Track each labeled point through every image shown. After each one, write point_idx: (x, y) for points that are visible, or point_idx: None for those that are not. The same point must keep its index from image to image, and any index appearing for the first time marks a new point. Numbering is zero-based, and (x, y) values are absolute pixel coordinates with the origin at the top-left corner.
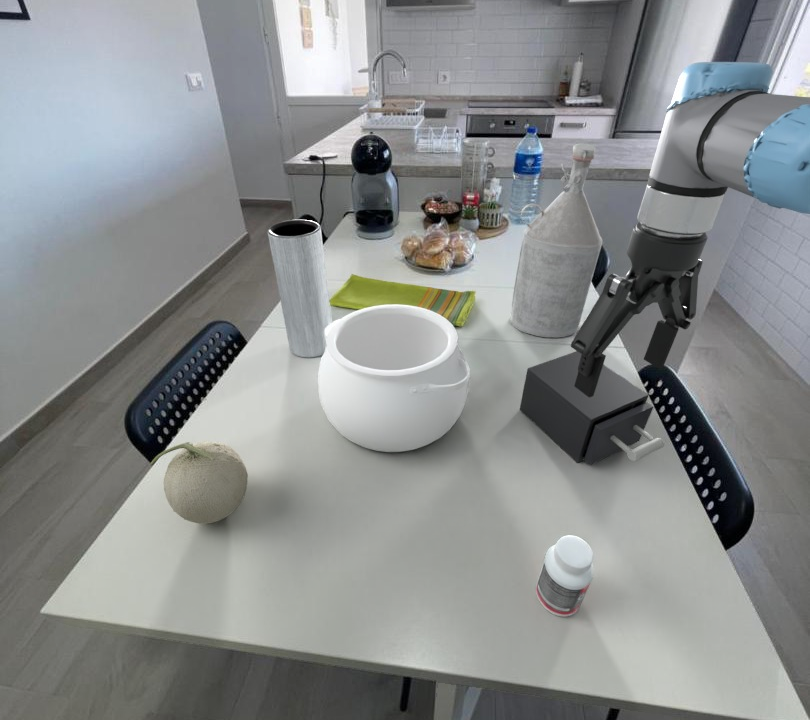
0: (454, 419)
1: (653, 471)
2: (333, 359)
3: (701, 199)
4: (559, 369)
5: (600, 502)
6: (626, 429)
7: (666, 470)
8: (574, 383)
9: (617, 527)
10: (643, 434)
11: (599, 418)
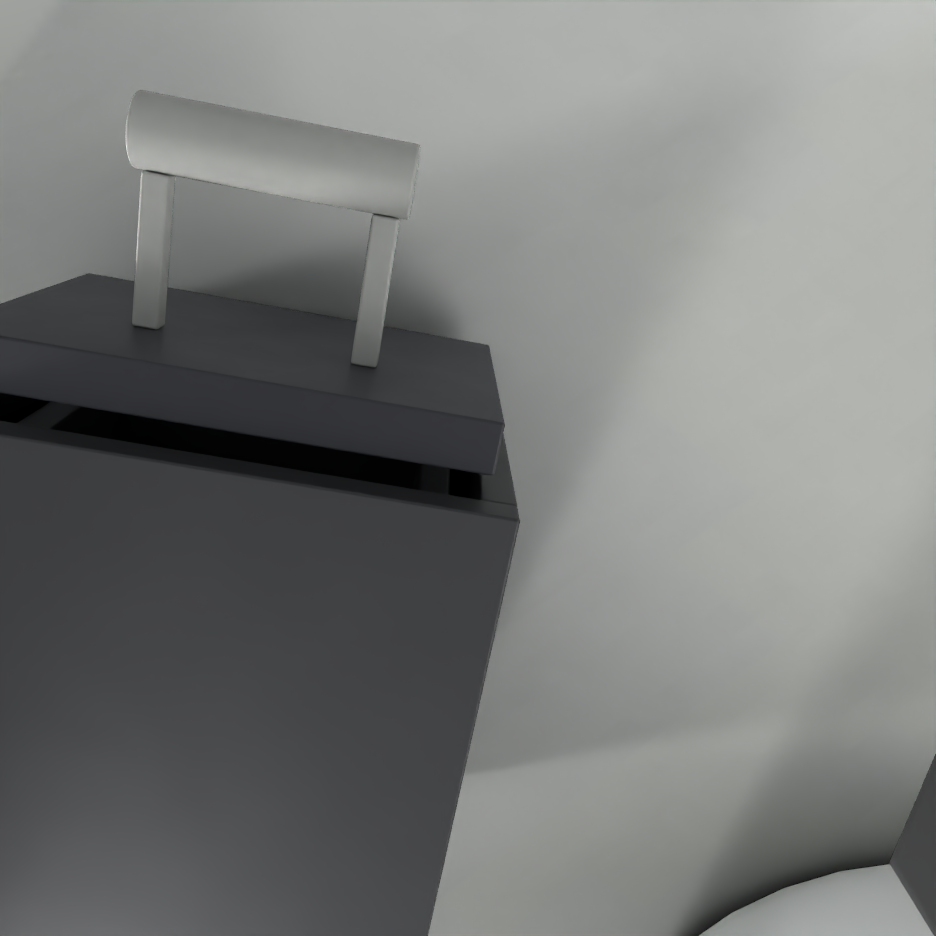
0: (905, 932)
1: (201, 96)
2: None
3: None
4: (234, 929)
5: (632, 166)
6: (227, 341)
7: (128, 49)
8: (276, 796)
9: (709, 13)
10: (167, 243)
11: (428, 495)
